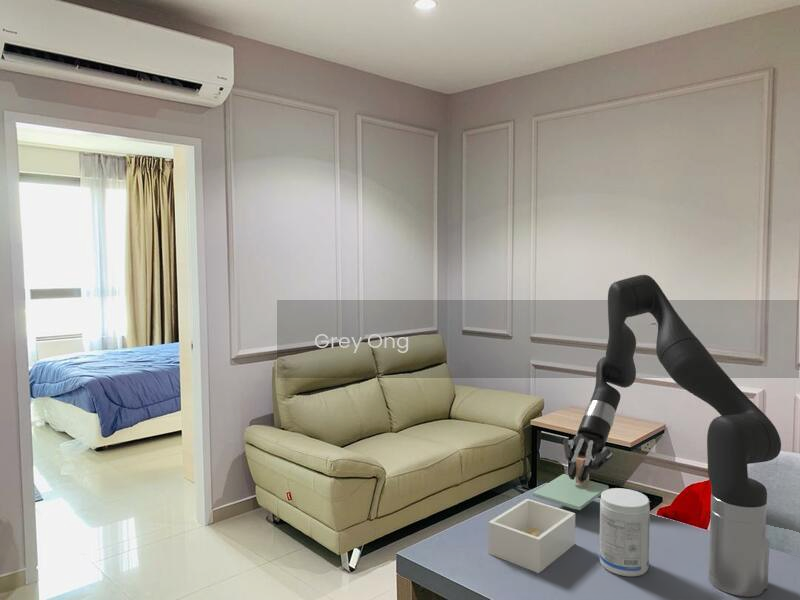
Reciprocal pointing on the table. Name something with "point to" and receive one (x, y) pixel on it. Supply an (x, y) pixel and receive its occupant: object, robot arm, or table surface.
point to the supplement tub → (624, 531)
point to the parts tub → (532, 534)
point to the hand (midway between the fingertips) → (575, 479)
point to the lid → (571, 489)
